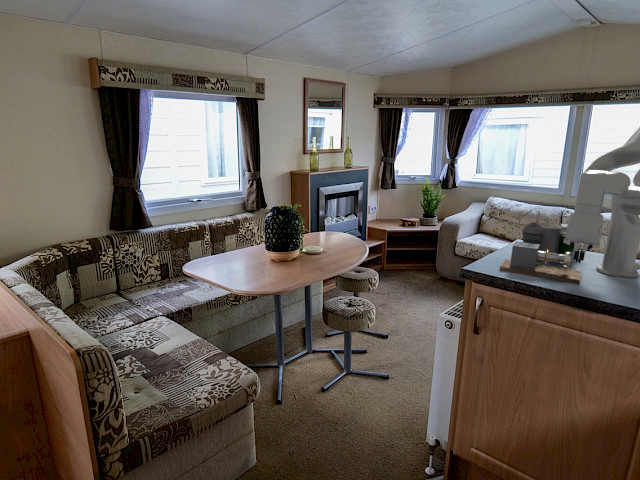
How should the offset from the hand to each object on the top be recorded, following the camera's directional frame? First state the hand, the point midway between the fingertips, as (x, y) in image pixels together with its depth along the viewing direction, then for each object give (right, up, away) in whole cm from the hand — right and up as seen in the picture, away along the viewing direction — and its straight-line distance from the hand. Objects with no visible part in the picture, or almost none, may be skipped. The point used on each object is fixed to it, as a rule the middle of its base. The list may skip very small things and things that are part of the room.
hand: (578, 261), depth 142 cm
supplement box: (+14, +1, +31) cm, 35 cm away
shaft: (-9, -1, +7) cm, 11 cm away
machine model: (-9, -4, +8) cm, 13 cm away
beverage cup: (-6, -1, +22) cm, 23 cm away
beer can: (+7, -2, +20) cm, 21 cm away
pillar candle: (+2, 0, +26) cm, 26 cm away
